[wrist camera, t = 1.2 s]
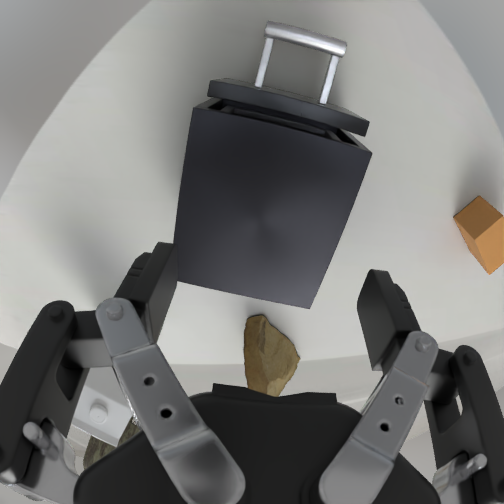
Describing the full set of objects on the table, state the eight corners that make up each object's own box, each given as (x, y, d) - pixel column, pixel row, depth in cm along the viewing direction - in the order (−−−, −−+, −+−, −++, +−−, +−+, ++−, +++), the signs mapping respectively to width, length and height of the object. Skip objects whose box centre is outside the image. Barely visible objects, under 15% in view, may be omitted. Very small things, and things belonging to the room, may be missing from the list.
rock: (222, 321, 40) (224, 376, 44) (263, 361, 33) (258, 415, 37) (289, 297, 45) (283, 350, 49) (333, 327, 39) (320, 381, 43)
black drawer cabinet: (216, 96, 28) (193, 107, 20) (344, 128, 29) (372, 152, 20) (192, 227, 35) (169, 279, 27) (302, 252, 36) (309, 309, 28)
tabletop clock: (139, 430, 65) (116, 519, 44) (105, 417, 64) (77, 504, 43) (147, 407, 58) (118, 514, 37) (106, 391, 57) (70, 495, 35)
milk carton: (145, 345, 47) (109, 452, 31) (106, 322, 45) (58, 426, 29) (164, 321, 44) (125, 440, 28) (121, 296, 42) (65, 410, 26)
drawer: (238, 23, 23) (227, 7, 16) (361, 56, 24) (390, 53, 17) (200, 207, 33) (182, 245, 26) (306, 231, 34) (314, 274, 27)
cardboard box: (453, 217, 33) (474, 240, 28) (479, 195, 31) (503, 215, 26) (470, 251, 35) (489, 275, 30) (494, 231, 33) (515, 253, 28)
